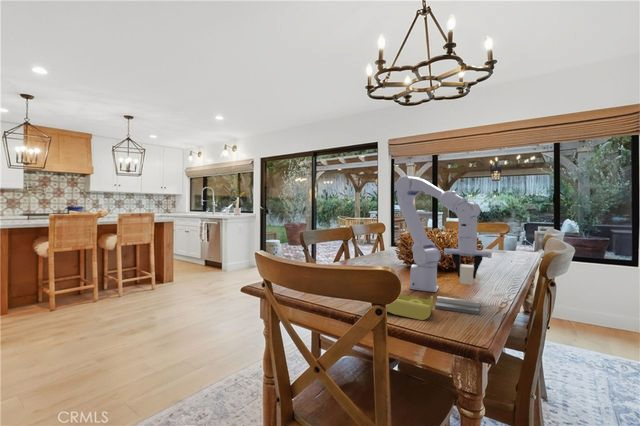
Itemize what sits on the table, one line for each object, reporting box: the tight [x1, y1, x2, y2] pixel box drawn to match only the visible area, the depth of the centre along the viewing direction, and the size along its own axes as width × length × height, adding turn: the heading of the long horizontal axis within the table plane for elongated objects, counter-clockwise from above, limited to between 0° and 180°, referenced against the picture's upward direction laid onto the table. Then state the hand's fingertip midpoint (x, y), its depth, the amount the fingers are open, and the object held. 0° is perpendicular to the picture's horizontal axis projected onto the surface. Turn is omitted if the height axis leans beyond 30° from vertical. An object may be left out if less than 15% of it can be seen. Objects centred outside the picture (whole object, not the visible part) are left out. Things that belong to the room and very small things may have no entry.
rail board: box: [434, 295, 480, 316], centre depth 97 cm, size 12×10×2 cm
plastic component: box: [386, 293, 435, 321], centre depth 94 cm, size 20×7×10 cm
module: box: [459, 263, 474, 286], centre depth 106 cm, size 4×5×6 cm
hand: (466, 277), depth 106 cm, fingers closed on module, 4 cm apart
